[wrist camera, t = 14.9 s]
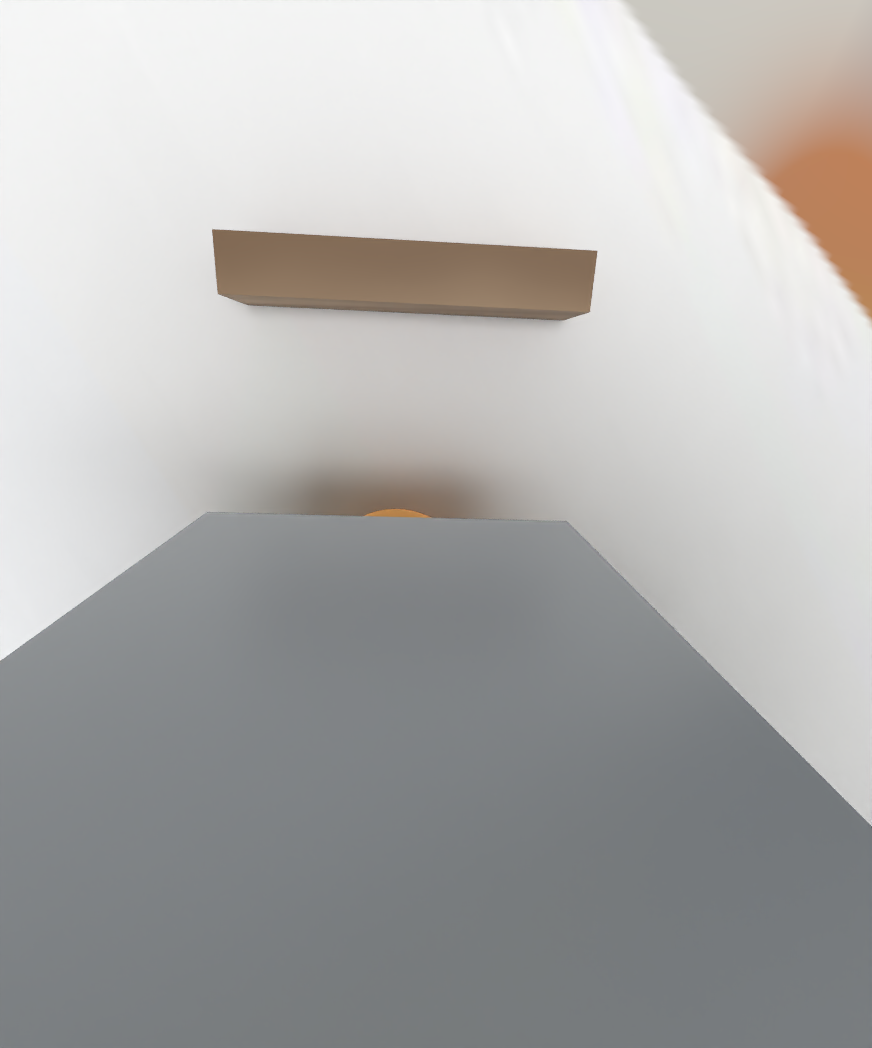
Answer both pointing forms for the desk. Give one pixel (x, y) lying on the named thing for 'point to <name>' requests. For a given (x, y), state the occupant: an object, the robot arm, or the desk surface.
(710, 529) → the desk surface
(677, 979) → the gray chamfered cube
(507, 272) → the bar
